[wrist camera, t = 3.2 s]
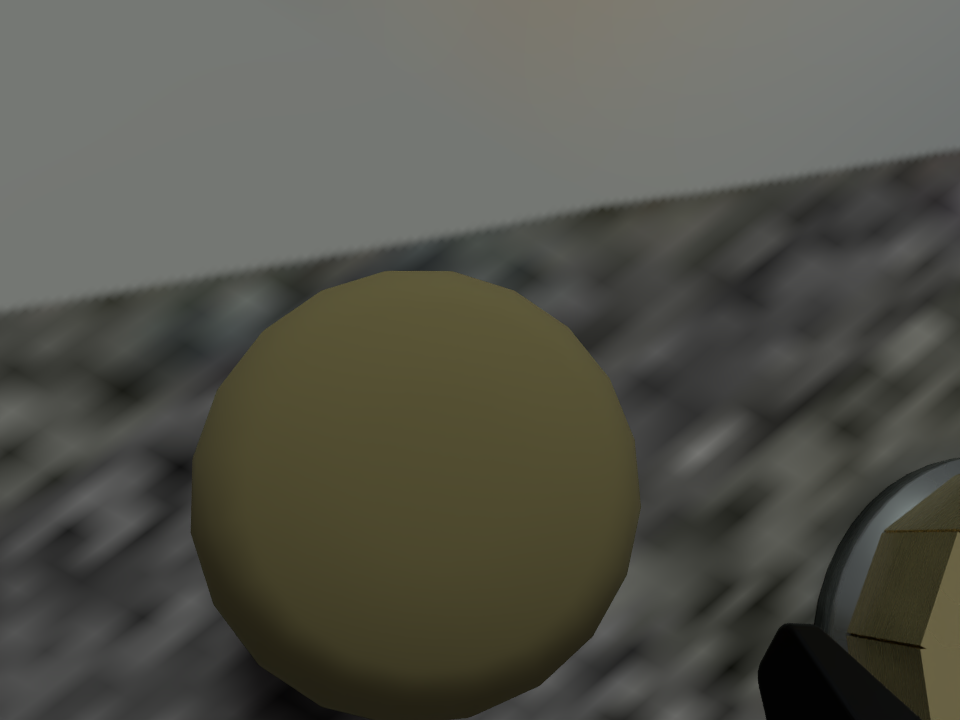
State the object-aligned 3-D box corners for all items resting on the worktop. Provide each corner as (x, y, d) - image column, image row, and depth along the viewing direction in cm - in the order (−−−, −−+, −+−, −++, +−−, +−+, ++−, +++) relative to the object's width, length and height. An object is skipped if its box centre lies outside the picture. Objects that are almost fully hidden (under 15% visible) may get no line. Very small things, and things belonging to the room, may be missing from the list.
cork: (385, 710, 18) (458, 967, 7) (186, 522, 18) (-38, 494, 7) (559, 504, 19) (829, 459, 9) (375, 333, 19) (421, 85, 9)
